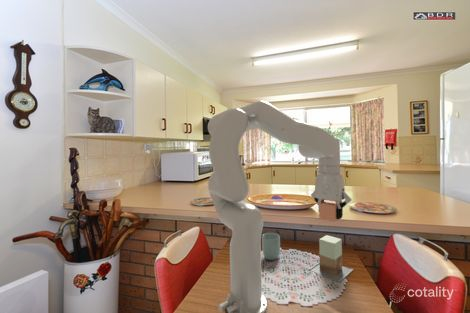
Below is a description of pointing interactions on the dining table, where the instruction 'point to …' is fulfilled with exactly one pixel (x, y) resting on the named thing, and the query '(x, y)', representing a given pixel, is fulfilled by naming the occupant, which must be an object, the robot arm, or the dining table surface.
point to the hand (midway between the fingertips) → (330, 216)
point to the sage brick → (330, 247)
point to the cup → (271, 245)
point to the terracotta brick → (328, 211)
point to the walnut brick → (331, 265)
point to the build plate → (338, 277)
